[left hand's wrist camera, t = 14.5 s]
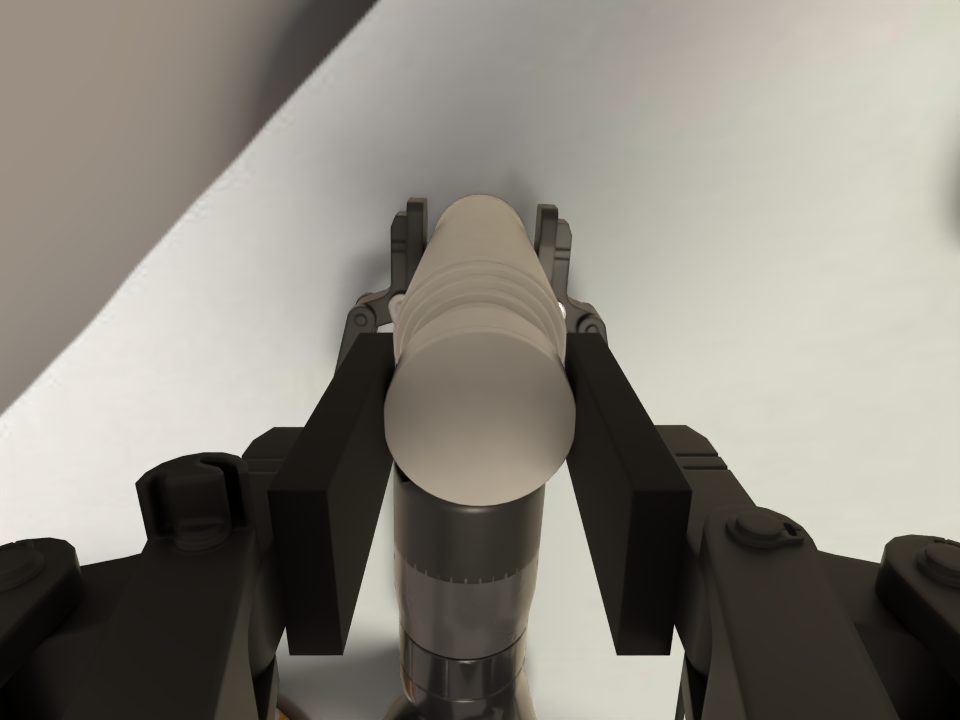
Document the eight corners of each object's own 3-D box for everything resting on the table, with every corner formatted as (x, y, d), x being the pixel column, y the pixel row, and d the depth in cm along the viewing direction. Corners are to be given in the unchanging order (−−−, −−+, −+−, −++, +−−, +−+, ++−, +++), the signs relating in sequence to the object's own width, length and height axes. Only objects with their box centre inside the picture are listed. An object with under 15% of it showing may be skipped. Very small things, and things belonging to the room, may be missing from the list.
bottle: (477, 174, 32) (472, 251, 12) (544, 238, 33) (644, 409, 13) (415, 244, 33) (316, 421, 13) (482, 303, 34) (485, 551, 14)
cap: (474, 269, 13) (474, 289, 12) (601, 385, 14) (617, 418, 13) (358, 394, 14) (342, 428, 13) (484, 494, 15) (485, 538, 14)
